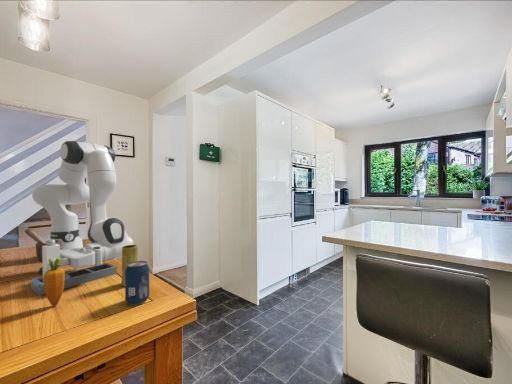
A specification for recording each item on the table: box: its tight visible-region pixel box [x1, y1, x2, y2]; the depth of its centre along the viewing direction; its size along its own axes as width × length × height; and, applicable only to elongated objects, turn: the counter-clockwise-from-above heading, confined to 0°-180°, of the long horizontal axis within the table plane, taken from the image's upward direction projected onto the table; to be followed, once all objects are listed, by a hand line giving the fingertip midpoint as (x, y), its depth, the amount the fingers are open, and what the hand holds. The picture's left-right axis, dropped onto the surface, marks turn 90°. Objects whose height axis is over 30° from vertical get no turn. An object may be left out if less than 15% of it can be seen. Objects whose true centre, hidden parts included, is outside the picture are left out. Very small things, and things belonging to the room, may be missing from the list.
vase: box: [120, 244, 139, 288], centre depth 89 cm, size 6×6×14 cm
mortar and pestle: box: [24, 227, 62, 275], centre depth 102 cm, size 12×9×20 cm
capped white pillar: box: [41, 239, 61, 283], centre depth 85 cm, size 4×4×16 cm
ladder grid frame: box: [30, 262, 118, 297], centre depth 92 cm, size 9×25×4 cm, turn 146°
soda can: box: [124, 260, 150, 306], centre depth 75 cm, size 7×7×12 cm
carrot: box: [44, 258, 66, 307], centre depth 72 cm, size 5×5×15 cm
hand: (48, 262), depth 84 cm, fingers closed on capped white pillar, 4 cm apart
